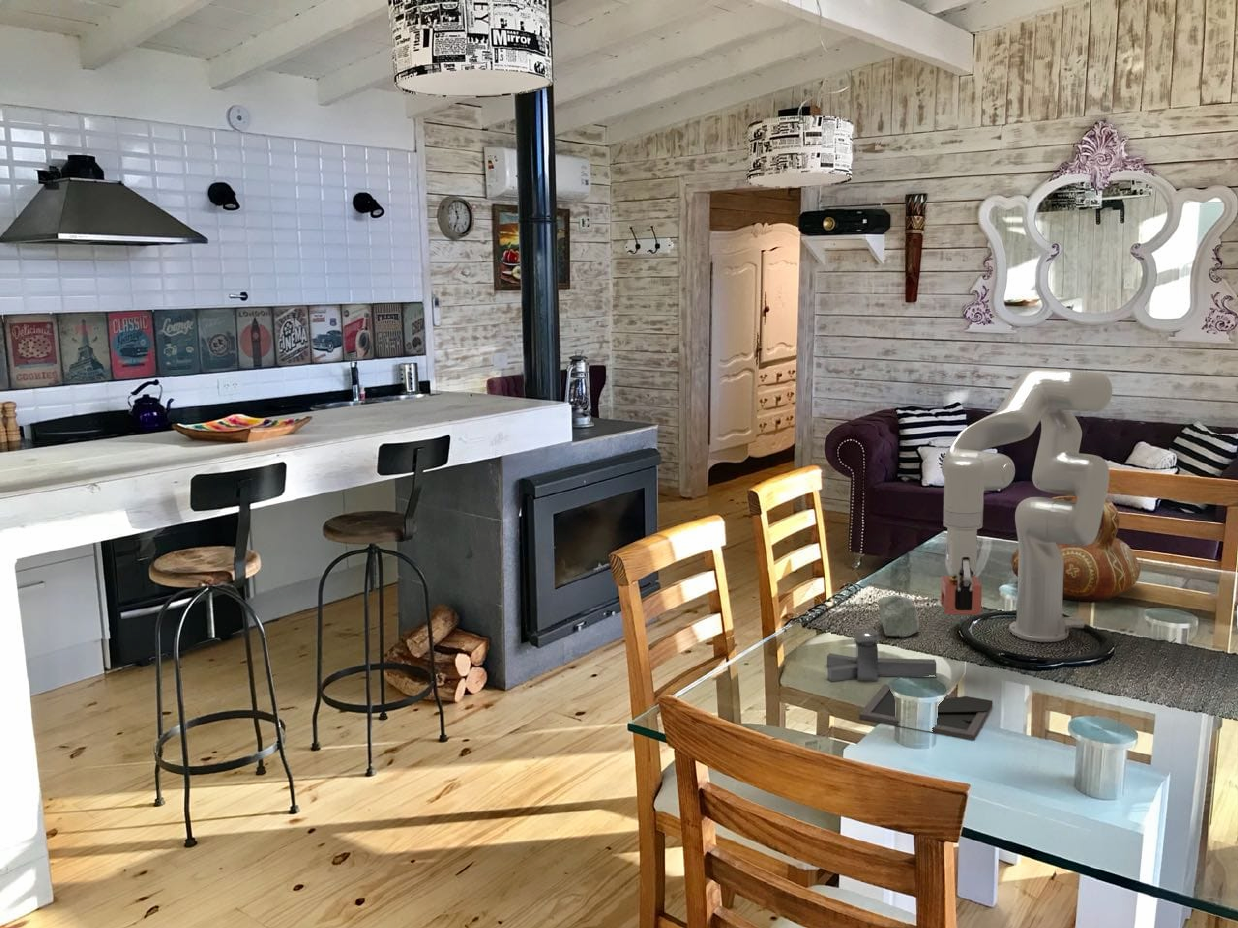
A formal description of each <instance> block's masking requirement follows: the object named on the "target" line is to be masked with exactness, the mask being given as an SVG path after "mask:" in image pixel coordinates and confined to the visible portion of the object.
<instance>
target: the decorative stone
mask: <svg viewBox="0 0 1238 928" xmlns="http://www.w3.org/2000/svg"><path fill="white" fill-rule="evenodd" d="M877 604H878V609H879V613H880V618H881V623H882V627H883V632H884V635H885V636H886V637H888V636H890V637H898V636H899V638H906V637H910V636H912V635H914V634H917V633H918V632H919V628H920V622H919V616H918V611H917V608H916V605H915V604H914V602H913V601H912V600H911V599H910V598H909V597H906V596H901V595H888V596H885V597H882V598H879V599H878V600H877Z"/></svg>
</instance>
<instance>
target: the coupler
mask: <svg viewBox="0 0 1238 928" xmlns="http://www.w3.org/2000/svg"><path fill="white" fill-rule="evenodd" d="M853 632H854V633H853V636H854V637H853V638H854V640H853V642H854V643H855V656H850V655H849V656H848V655H844V654H837V653H830V652H829V653H828V654H827V655H826V667H827V679H828V680H829V681H830V683H831V682H838V681H846V680H854V679H857V681H862V682H863V681H864V682H878V681H879V680H878V678H879V677H903V678H904V677H905V678H908V677H909V678H915V677H914V676H929V675H935V676H936V677H937V661H936V659H930V658H892V657H891V658H890V657H889V658H887V657H882V658H881V657H878V653H879V652H878V651H879V650H878V649H879V648H878V644H880V632H879V631H878V630H876V629H873V628H859V629H855V630H854V631H853Z"/></svg>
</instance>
